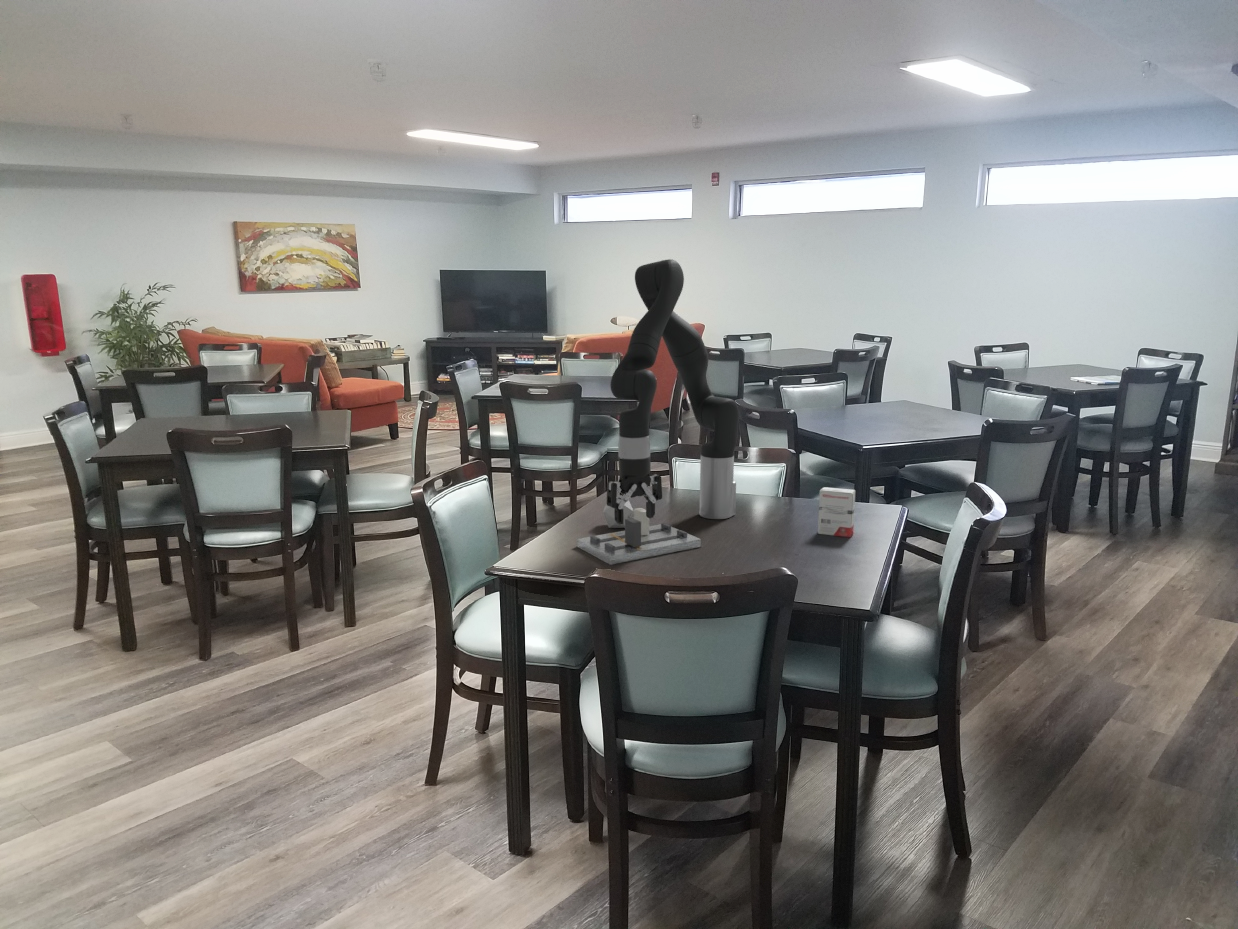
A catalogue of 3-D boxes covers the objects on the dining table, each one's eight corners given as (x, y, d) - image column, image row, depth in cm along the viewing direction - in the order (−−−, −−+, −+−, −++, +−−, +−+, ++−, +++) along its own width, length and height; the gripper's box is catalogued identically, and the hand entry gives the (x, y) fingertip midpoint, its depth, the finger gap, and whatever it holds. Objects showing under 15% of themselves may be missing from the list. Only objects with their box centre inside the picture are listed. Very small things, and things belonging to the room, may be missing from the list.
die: (622, 535, 220) (641, 504, 221) (594, 518, 220) (613, 487, 222) (622, 537, 228) (640, 507, 229) (595, 520, 228) (613, 490, 230)
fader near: (632, 541, 205) (632, 517, 203) (640, 546, 201) (641, 521, 200) (625, 543, 204) (625, 519, 202) (633, 547, 200) (634, 523, 199)
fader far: (640, 530, 214) (640, 507, 213) (649, 534, 211) (649, 511, 210) (633, 531, 213) (633, 508, 212) (642, 535, 210) (642, 512, 208)
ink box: (854, 533, 220) (856, 489, 217) (850, 538, 215) (853, 493, 213) (820, 529, 223) (823, 485, 221) (816, 533, 219) (819, 489, 216)
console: (664, 530, 221) (664, 519, 221) (700, 546, 208) (701, 534, 207) (577, 546, 208) (577, 534, 207) (610, 564, 195) (610, 551, 194)
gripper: (650, 448, 204) (650, 512, 208) (600, 455, 197) (601, 521, 201) (668, 453, 198) (668, 519, 202) (617, 460, 191) (617, 529, 194)
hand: (634, 520), depth 201 cm, fingers open, 8 cm apart
